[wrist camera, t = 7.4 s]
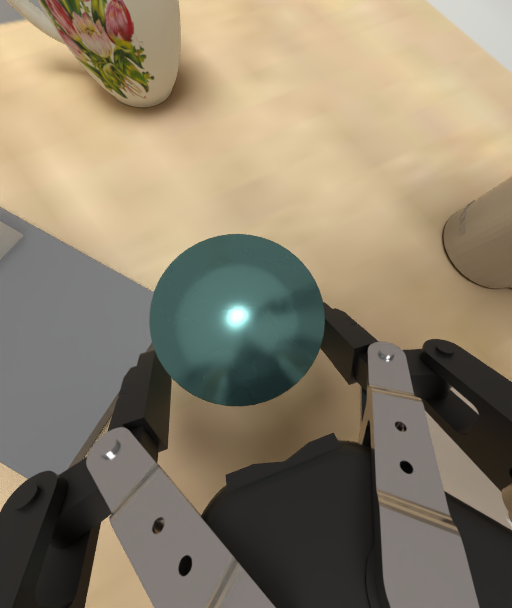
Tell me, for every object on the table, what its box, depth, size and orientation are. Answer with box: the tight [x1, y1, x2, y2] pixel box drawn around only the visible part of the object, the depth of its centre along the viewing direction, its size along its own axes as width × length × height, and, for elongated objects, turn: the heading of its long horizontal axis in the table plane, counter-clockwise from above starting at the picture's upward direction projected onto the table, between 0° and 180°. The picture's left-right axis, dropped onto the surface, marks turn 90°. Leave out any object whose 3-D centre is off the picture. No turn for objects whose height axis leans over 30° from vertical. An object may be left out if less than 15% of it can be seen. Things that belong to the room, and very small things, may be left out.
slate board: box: [0, 207, 154, 479], centre depth 17 cm, size 19×14×2 cm
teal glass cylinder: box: [149, 234, 325, 406], centre depth 13 cm, size 6×6×12 cm
